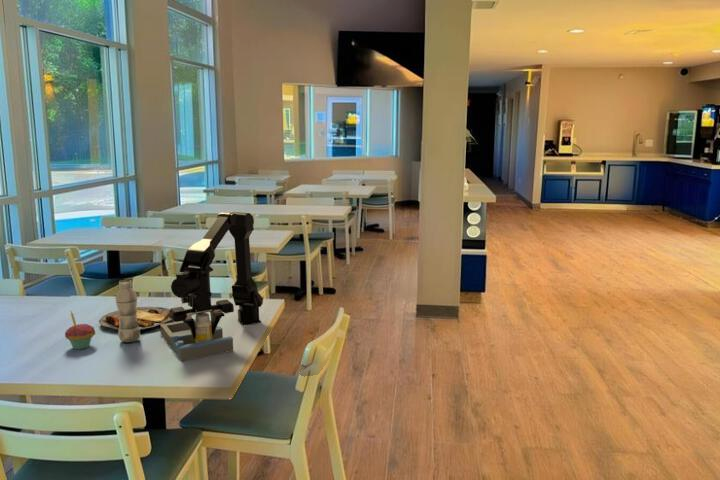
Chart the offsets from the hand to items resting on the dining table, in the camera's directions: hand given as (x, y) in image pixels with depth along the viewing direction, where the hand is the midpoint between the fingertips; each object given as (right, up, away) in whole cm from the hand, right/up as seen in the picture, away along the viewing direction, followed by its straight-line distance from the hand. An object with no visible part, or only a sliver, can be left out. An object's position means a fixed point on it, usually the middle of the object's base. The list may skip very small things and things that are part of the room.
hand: (203, 336), depth 184 cm
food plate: (-30, +1, +25) cm, 39 cm away
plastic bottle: (-26, -3, +7) cm, 27 cm away
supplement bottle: (0, -3, +1) cm, 3 cm away
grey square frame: (-4, -3, +6) cm, 8 cm away
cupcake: (-39, -4, +3) cm, 40 cm away
